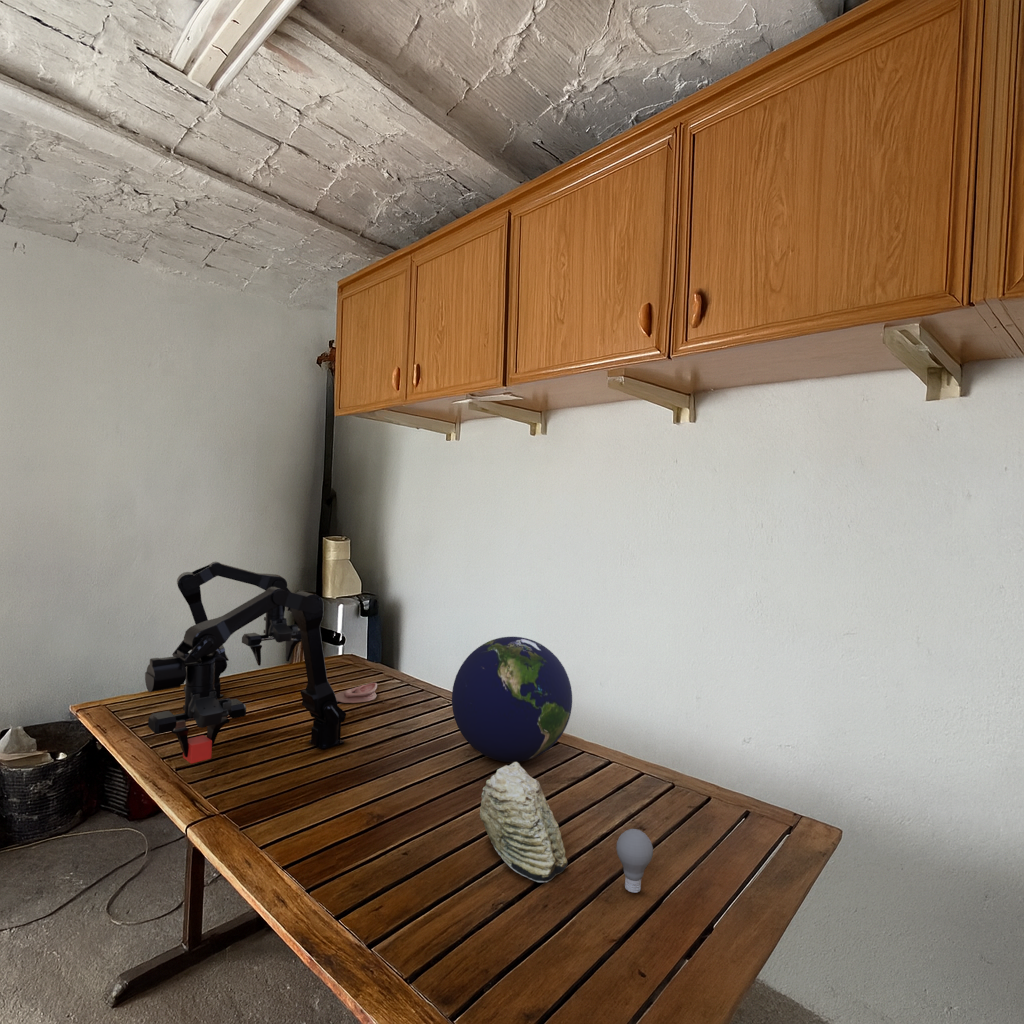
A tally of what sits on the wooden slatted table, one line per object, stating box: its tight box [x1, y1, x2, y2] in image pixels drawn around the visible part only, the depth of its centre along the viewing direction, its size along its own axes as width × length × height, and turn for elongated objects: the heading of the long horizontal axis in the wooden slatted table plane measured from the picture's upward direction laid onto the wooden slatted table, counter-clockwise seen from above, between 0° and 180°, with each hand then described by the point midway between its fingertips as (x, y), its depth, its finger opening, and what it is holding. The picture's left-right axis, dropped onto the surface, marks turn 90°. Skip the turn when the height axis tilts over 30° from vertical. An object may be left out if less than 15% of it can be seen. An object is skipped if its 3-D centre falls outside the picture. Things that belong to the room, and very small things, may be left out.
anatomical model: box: [335, 682, 378, 704], centre depth 199 cm, size 13×4×12 cm
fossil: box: [479, 762, 569, 883], centre depth 114 cm, size 9×18×15 cm, turn 46°
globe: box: [451, 636, 573, 763], centre depth 158 cm, size 30×30×30 cm
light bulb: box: [615, 828, 654, 894], centre depth 106 cm, size 6×6×10 cm
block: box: [182, 734, 213, 765], centre depth 140 cm, size 4×4×4 cm
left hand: (273, 663), depth 202 cm, fingers open, 9 cm apart
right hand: (197, 753), depth 140 cm, fingers closed on block, 4 cm apart
